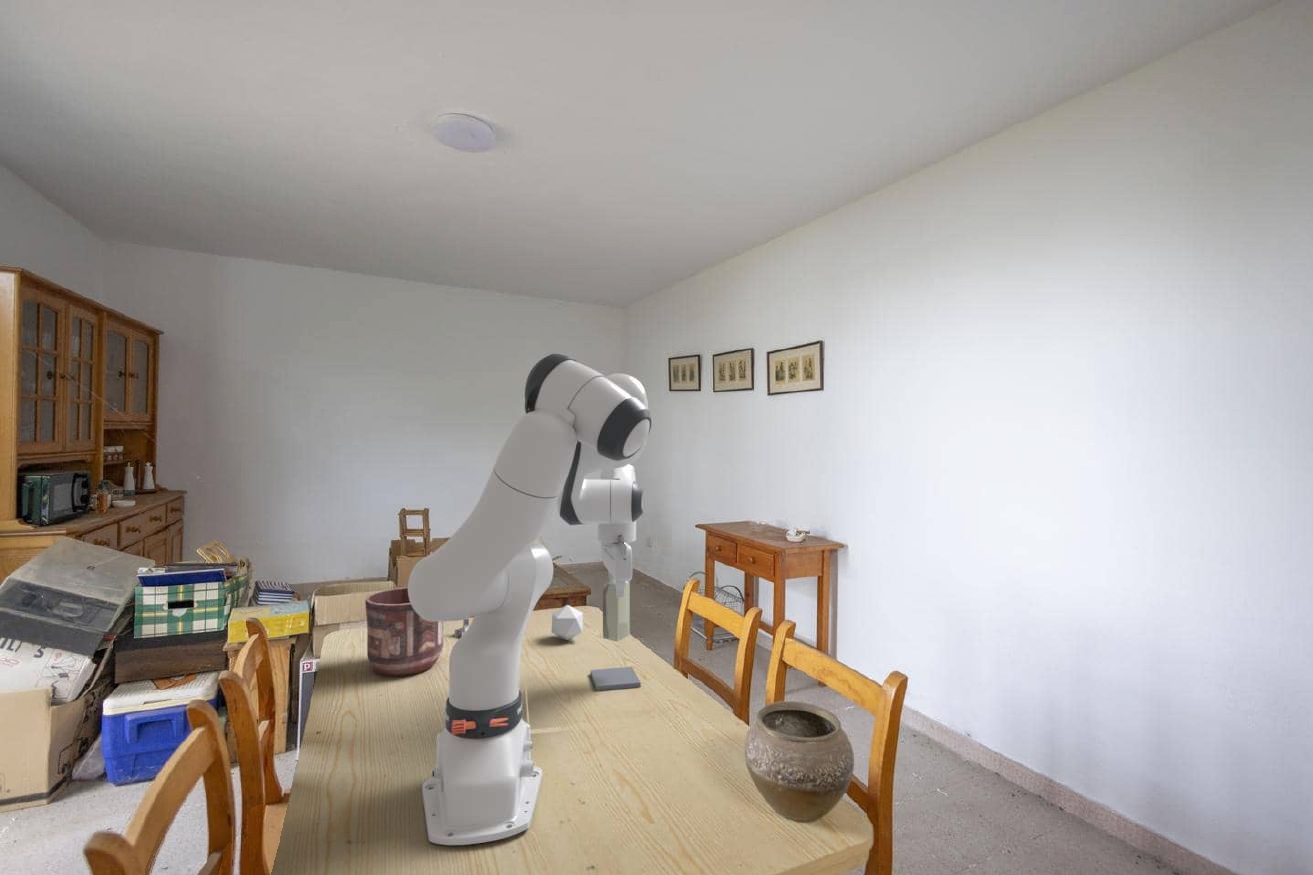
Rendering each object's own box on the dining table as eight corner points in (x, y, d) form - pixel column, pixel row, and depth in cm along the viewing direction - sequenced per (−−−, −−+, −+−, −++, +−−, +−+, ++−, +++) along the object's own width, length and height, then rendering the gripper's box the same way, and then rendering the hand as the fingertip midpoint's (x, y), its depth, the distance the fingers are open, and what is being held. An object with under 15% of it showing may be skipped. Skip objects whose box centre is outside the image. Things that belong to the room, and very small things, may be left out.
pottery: (419, 686, 136) (420, 606, 137) (348, 681, 139) (350, 602, 139) (457, 659, 154) (458, 587, 154) (394, 654, 157) (394, 584, 157)
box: (615, 633, 144) (615, 578, 144) (630, 636, 142) (630, 581, 142) (601, 639, 139) (602, 582, 140) (616, 642, 137) (617, 584, 138)
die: (571, 633, 175) (572, 599, 175) (588, 641, 168) (589, 605, 168) (545, 639, 170) (545, 603, 170) (562, 648, 163) (562, 610, 163)
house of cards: (439, 637, 172) (439, 610, 172) (471, 633, 175) (471, 607, 176) (442, 647, 164) (442, 618, 164) (475, 643, 167) (476, 615, 167)
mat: (640, 686, 137) (640, 682, 137) (596, 690, 135) (596, 686, 135) (631, 670, 147) (631, 666, 147) (590, 674, 144) (590, 669, 144)
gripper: (639, 539, 132) (638, 603, 131) (622, 526, 151) (622, 582, 151) (610, 540, 130) (610, 604, 130) (597, 527, 150) (596, 583, 150)
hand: (616, 592), depth 141 cm, fingers closed on box, 6 cm apart
